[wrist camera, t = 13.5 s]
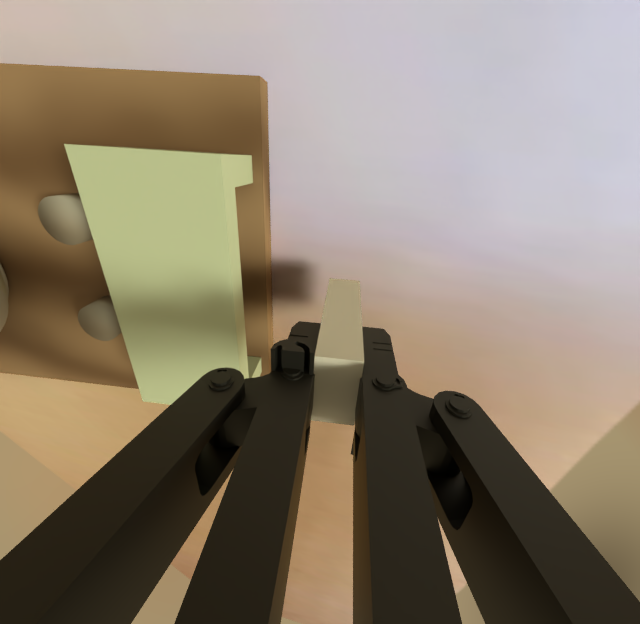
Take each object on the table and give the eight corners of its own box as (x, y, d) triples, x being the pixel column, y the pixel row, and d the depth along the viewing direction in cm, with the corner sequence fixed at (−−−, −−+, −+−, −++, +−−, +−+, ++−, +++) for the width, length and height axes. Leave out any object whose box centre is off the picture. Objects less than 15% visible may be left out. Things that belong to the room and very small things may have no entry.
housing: (130, 147, 14) (63, 143, 11) (251, 155, 14) (220, 154, 11) (176, 362, 20) (142, 401, 17) (261, 371, 20) (243, 413, 17)
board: (-263, 56, 15) (-378, 37, 13) (267, 82, 13) (248, 66, 11) (-61, 354, 24) (-106, 375, 22) (274, 392, 22) (264, 420, 20)
